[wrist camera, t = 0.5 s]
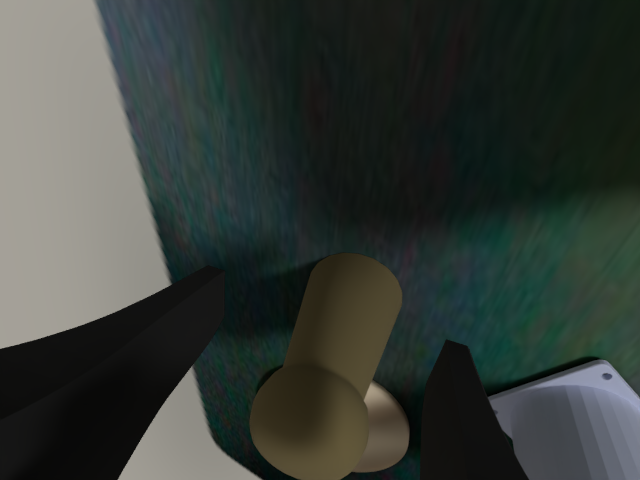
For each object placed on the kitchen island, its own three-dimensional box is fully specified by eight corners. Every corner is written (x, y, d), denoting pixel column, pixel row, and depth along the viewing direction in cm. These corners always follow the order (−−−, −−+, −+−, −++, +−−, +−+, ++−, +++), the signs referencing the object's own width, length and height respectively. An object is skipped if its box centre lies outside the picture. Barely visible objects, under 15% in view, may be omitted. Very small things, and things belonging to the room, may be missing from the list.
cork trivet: (443, 442, 29) (442, 452, 29) (334, 474, 36) (332, 483, 35) (332, 338, 27) (329, 347, 27) (237, 392, 34) (233, 400, 33)
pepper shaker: (394, 249, 22) (353, 416, 13) (409, 330, 25) (383, 516, 16) (297, 255, 25) (206, 403, 15) (320, 329, 27) (254, 492, 18)
